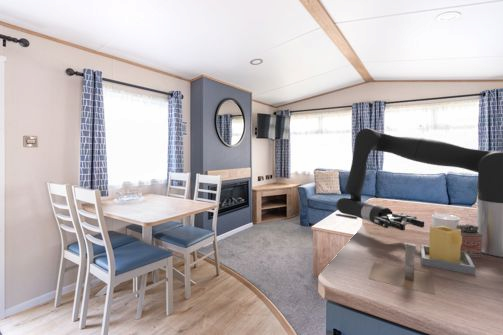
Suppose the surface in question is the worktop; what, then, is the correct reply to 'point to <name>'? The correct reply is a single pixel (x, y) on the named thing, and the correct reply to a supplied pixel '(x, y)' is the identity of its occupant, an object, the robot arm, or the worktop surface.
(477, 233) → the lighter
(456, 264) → the tray
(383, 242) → the worktop surface
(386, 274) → the board
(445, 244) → the yellow open box
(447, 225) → the white cup
